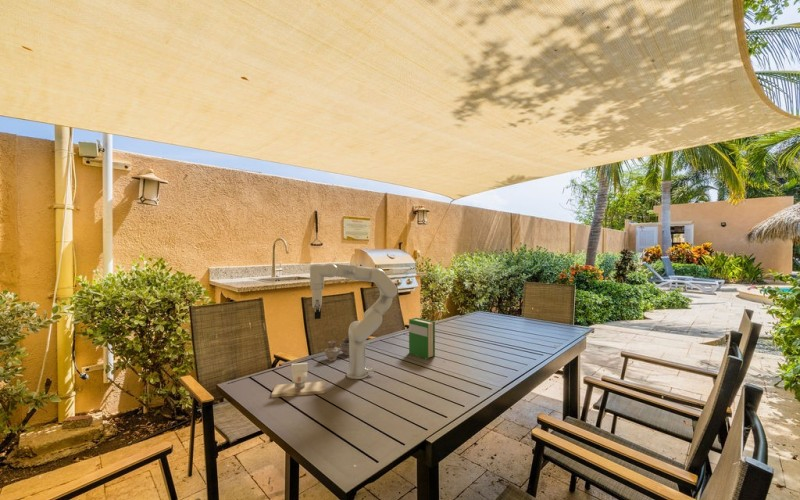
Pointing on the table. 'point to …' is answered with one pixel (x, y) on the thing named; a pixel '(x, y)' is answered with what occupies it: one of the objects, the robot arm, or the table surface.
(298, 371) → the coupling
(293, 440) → the table surface
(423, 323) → the hardback book
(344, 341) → the pottery
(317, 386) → the post base
